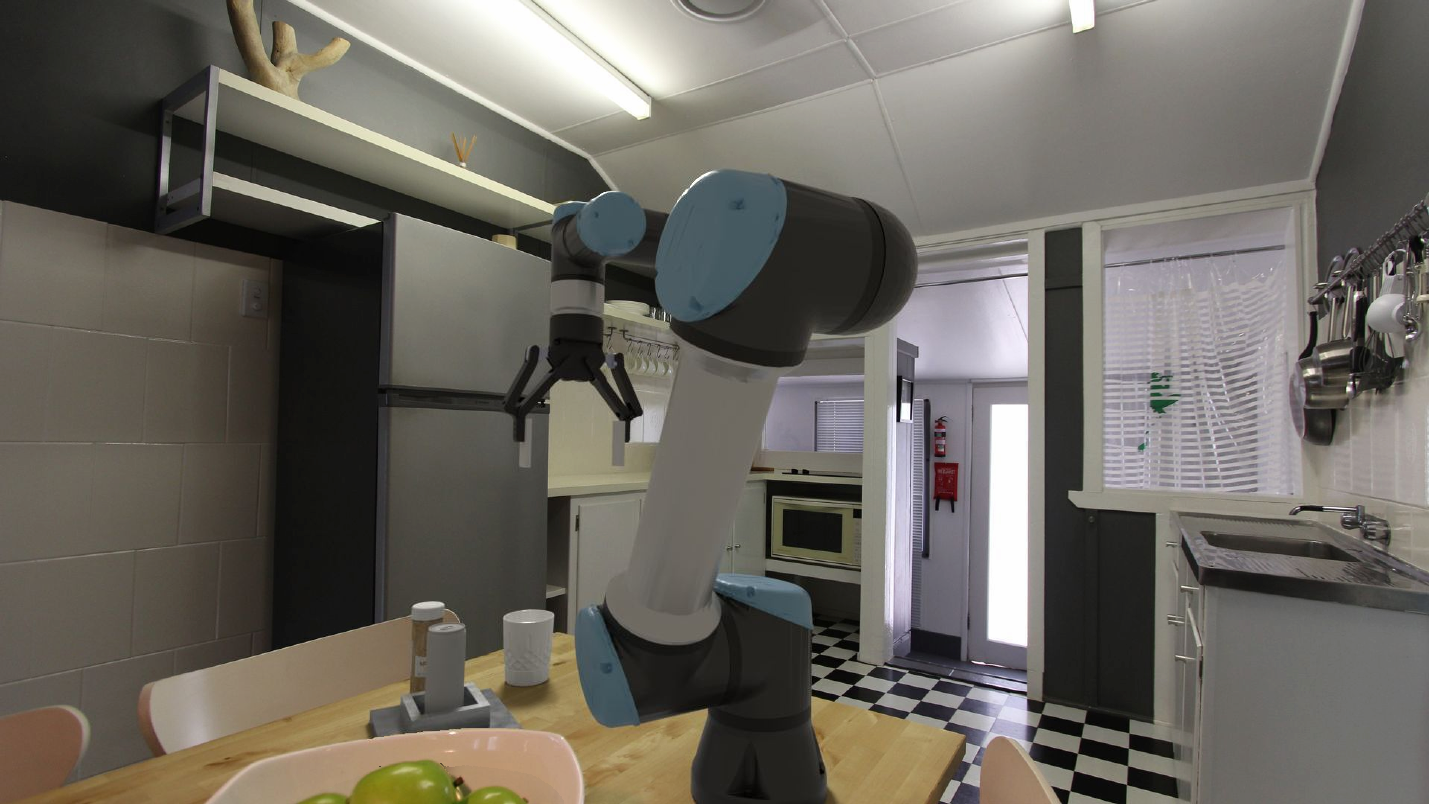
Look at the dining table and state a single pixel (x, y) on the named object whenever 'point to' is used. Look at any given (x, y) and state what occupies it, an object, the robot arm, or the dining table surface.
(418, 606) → the sprinkles bottle
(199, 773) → the dining table surface
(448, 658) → the beverage can
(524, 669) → the white cup
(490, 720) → the gray square base
